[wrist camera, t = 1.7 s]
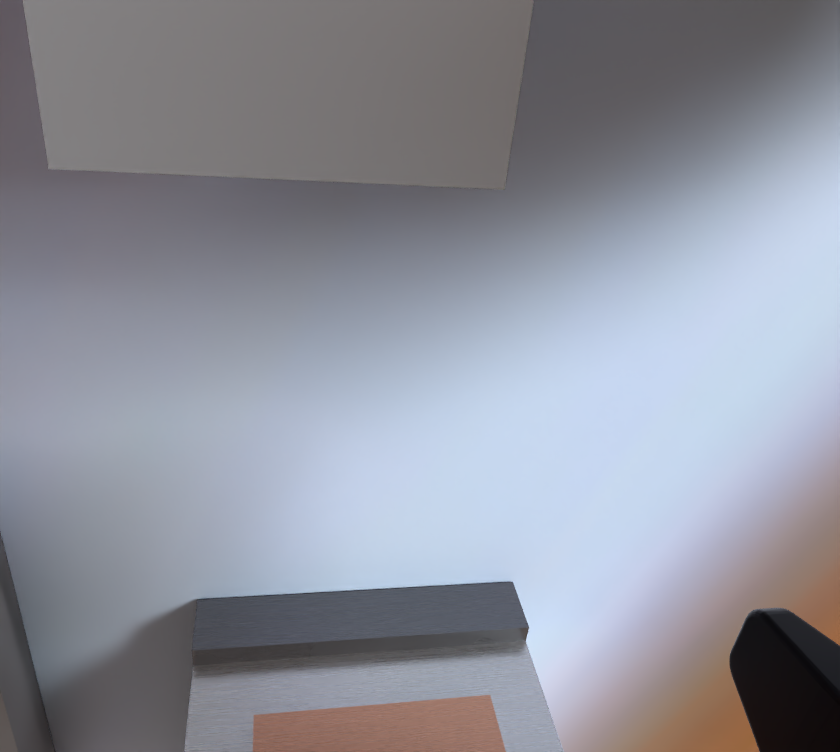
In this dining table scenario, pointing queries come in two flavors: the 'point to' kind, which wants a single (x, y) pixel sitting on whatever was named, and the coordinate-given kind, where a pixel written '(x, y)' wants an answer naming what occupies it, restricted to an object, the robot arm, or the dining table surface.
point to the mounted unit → (367, 673)
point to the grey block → (282, 88)
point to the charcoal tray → (18, 678)
